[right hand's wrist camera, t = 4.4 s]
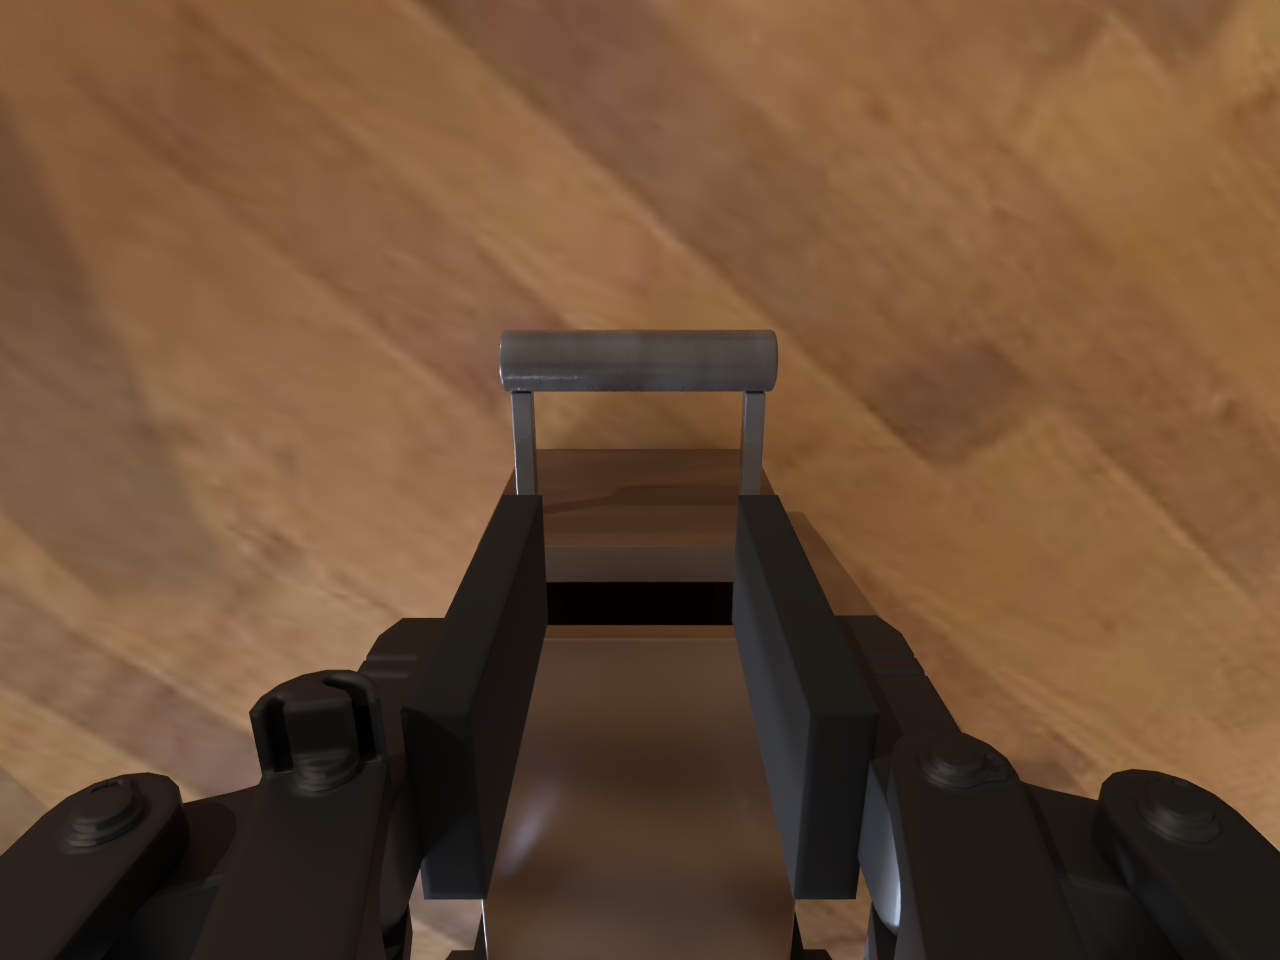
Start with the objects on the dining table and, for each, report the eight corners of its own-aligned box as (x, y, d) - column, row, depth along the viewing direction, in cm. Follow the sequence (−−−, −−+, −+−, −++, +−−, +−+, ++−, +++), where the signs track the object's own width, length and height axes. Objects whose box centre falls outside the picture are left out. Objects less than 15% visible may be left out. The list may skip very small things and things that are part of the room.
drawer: (514, 302, 28) (460, 345, 20) (762, 302, 28) (815, 345, 20) (542, 805, 36) (512, 990, 28) (735, 805, 36) (764, 990, 28)
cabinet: (514, 499, 32) (455, 639, 22) (762, 499, 32) (820, 639, 22) (536, 849, 38) (498, 1084, 28) (741, 849, 38) (779, 1084, 28)
